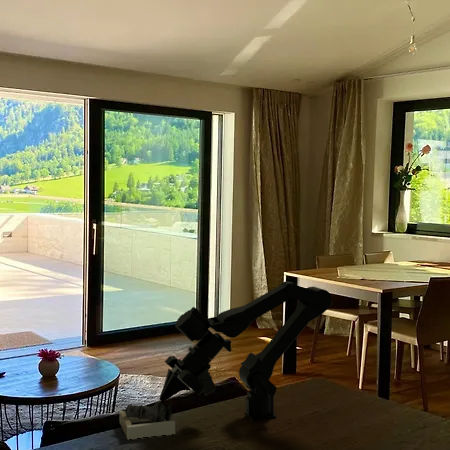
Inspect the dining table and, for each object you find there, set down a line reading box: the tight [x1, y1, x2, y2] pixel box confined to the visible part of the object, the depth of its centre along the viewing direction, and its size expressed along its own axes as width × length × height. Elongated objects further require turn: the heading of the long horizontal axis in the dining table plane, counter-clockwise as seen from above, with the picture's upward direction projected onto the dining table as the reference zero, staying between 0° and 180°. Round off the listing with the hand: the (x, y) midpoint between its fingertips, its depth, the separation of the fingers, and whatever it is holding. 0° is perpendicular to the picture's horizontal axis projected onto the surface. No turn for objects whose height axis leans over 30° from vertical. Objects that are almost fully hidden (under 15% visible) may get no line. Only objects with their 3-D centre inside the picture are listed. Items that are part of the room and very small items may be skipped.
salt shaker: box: [121, 401, 173, 423], centre depth 163 cm, size 6×6×12 cm
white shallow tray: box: [119, 410, 176, 441], centre depth 162 cm, size 11×12×3 cm
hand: (160, 400), depth 163 cm, fingers closed
